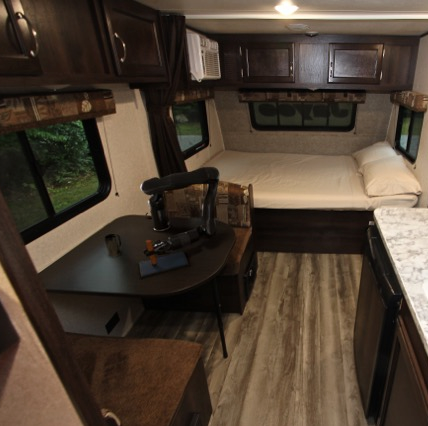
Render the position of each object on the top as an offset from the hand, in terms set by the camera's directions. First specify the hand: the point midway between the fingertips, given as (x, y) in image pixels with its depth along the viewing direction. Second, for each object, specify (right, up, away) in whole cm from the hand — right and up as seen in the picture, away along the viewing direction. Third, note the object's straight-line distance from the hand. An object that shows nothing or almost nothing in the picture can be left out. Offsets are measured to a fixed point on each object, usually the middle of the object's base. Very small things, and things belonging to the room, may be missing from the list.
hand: (145, 253), depth 143 cm
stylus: (+2, -6, +5) cm, 9 cm away
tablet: (+6, -7, +8) cm, 12 cm away
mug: (-24, -3, +16) cm, 29 cm away
